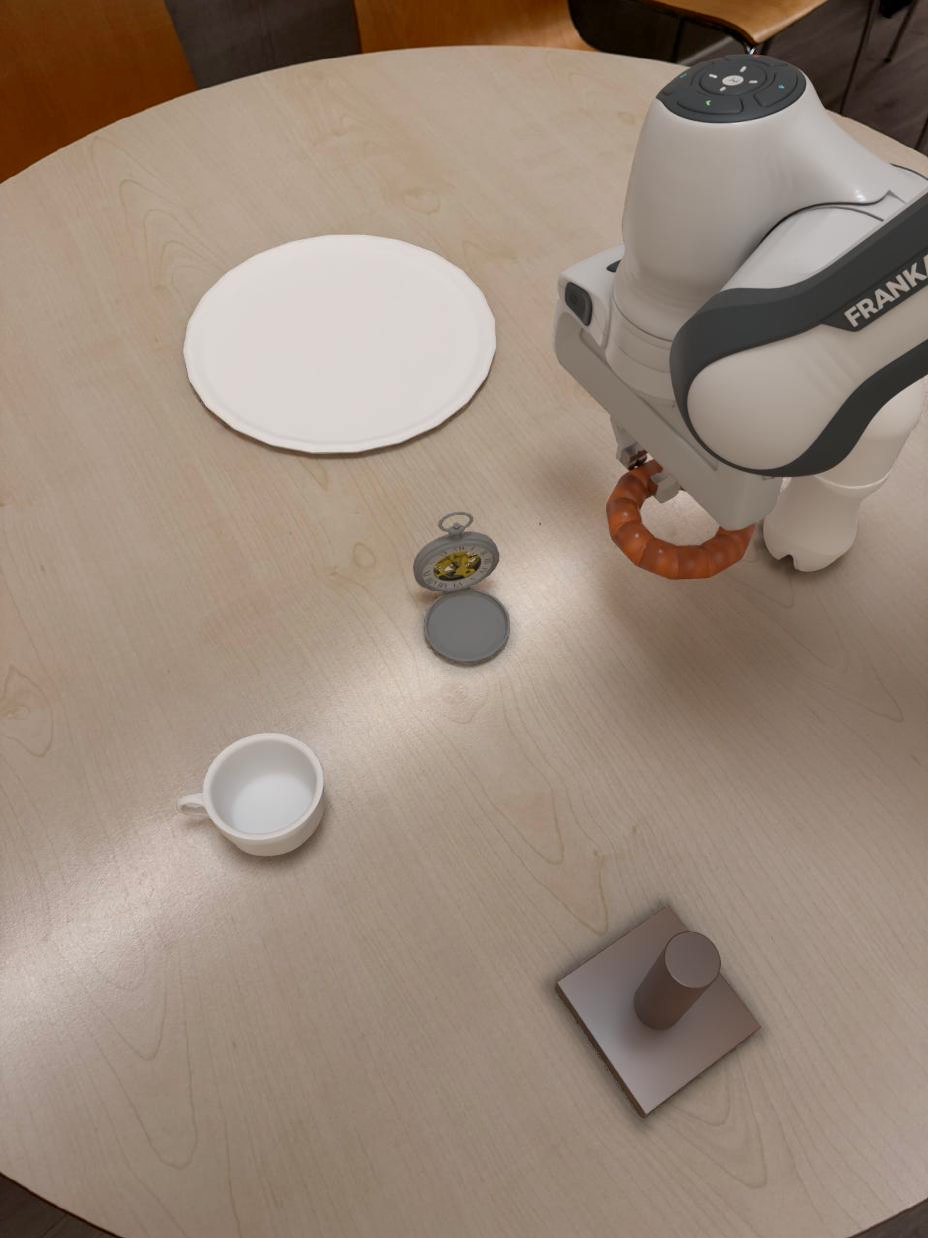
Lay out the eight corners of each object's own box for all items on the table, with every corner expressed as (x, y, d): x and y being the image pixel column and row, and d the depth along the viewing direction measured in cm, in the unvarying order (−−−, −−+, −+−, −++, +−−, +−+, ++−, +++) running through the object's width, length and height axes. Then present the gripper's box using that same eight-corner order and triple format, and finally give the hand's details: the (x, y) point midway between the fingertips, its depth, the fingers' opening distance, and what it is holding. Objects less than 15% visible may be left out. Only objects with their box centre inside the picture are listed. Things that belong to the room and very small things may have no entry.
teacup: (329, 759, 74) (320, 725, 69) (334, 862, 70) (326, 834, 65) (188, 773, 73) (171, 741, 69) (185, 878, 69) (166, 851, 64)
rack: (755, 1031, 64) (814, 985, 54) (642, 1118, 61) (681, 1087, 51) (664, 911, 68) (702, 846, 58) (554, 987, 65) (573, 934, 55)
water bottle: (740, 553, 84) (836, 313, 63) (778, 497, 87) (882, 250, 66) (822, 595, 82) (949, 361, 61) (858, 536, 85) (991, 294, 64)
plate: (239, 502, 86) (237, 493, 85) (149, 288, 100) (146, 278, 99) (549, 400, 93) (550, 390, 92) (424, 213, 107) (423, 202, 106)
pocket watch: (469, 683, 77) (471, 611, 69) (390, 619, 80) (382, 542, 72) (540, 616, 80) (549, 539, 72) (461, 557, 83) (461, 476, 75)
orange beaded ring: (779, 543, 74) (788, 523, 72) (666, 610, 71) (672, 590, 69) (686, 452, 79) (691, 430, 77) (576, 511, 75) (579, 490, 73)
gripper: (834, 413, 60) (775, 554, 71) (618, 226, 69) (597, 378, 81) (752, 458, 58) (705, 595, 69) (542, 260, 67) (531, 410, 79)
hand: (645, 477), depth 75 cm, fingers closed on orange beaded ring, 2 cm apart
